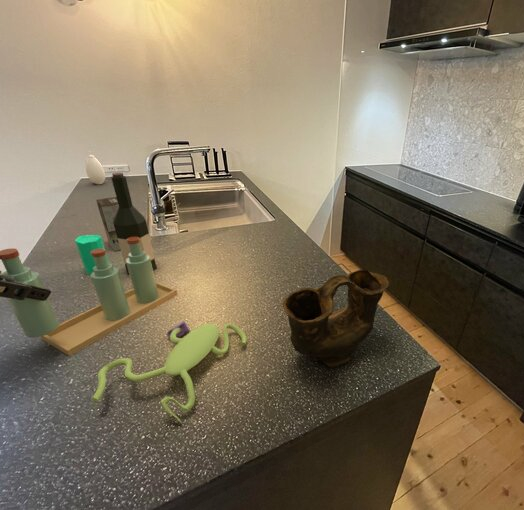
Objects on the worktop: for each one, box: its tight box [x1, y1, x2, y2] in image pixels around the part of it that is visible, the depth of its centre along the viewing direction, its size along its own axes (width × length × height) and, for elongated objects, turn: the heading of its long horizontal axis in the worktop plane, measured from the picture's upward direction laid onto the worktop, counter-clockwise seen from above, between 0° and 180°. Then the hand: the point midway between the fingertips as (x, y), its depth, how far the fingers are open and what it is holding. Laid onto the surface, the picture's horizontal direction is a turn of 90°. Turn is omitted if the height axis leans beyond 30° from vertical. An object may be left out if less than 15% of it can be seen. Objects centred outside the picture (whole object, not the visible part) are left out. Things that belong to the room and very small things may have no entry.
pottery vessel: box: [281, 269, 390, 369], centre depth 67 cm, size 25×11×20 cm, turn 127°
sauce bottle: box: [85, 151, 106, 185], centre depth 166 cm, size 8×8×18 cm
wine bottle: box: [110, 172, 158, 276], centre depth 88 cm, size 8×8×30 cm
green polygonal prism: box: [74, 233, 110, 275], centre depth 91 cm, size 6×6×12 cm
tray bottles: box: [90, 237, 159, 321], centre depth 75 cm, size 13×5×18 cm, turn 155°
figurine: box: [91, 320, 248, 424], centre depth 62 cm, size 18×27×6 cm
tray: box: [40, 281, 179, 357], centre depth 76 cm, size 26×10×2 cm, turn 155°
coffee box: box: [95, 196, 121, 252], centre depth 105 cm, size 9×6×16 cm
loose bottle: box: [0, 247, 60, 338], centre depth 58 cm, size 5×5×18 cm
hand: (38, 290), depth 60 cm, fingers closed on loose bottle, 5 cm apart
